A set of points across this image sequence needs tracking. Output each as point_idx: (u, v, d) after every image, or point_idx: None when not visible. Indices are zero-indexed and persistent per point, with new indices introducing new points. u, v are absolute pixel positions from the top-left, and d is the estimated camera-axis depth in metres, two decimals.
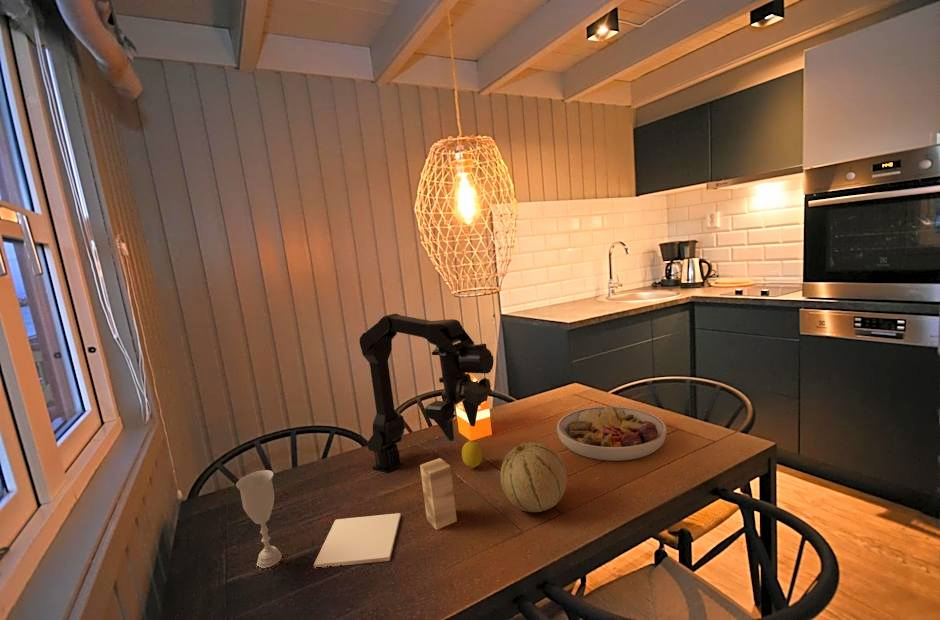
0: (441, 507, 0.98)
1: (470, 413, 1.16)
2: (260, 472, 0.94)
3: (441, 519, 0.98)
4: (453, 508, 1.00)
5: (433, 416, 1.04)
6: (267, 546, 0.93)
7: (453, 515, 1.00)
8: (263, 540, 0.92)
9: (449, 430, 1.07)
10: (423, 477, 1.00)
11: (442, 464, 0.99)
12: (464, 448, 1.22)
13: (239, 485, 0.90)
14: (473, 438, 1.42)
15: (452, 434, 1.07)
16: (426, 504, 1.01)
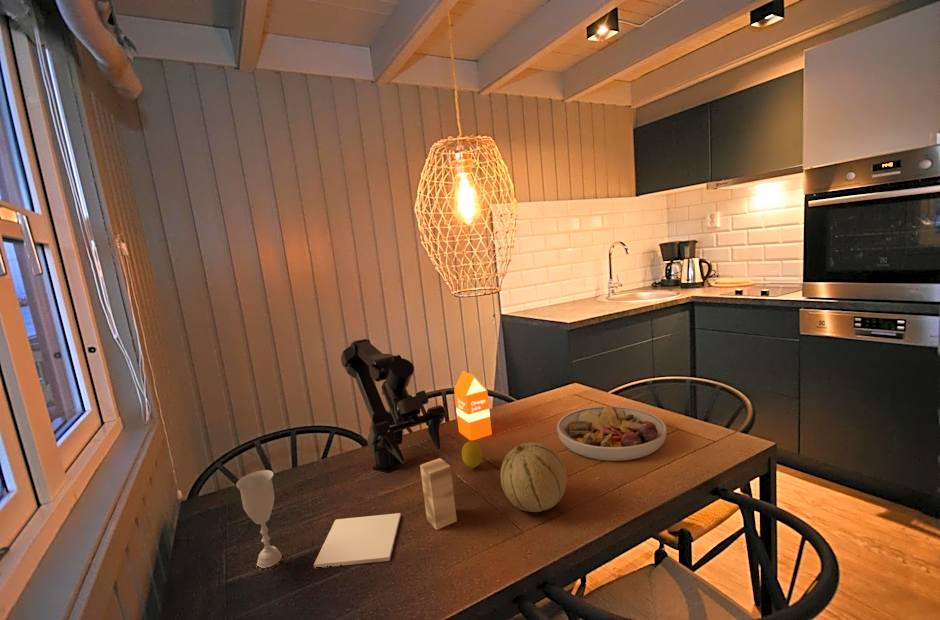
0: (441, 507, 0.98)
1: (433, 438, 1.10)
2: (260, 472, 0.94)
3: (441, 519, 0.98)
4: (453, 508, 1.00)
5: (372, 438, 1.06)
6: (267, 546, 0.93)
7: (453, 515, 1.00)
8: (263, 540, 0.92)
9: (394, 450, 1.04)
10: (423, 477, 1.00)
11: (442, 464, 0.99)
12: (464, 448, 1.22)
13: (239, 485, 0.90)
14: (473, 438, 1.42)
15: (400, 454, 1.04)
16: (426, 504, 1.01)
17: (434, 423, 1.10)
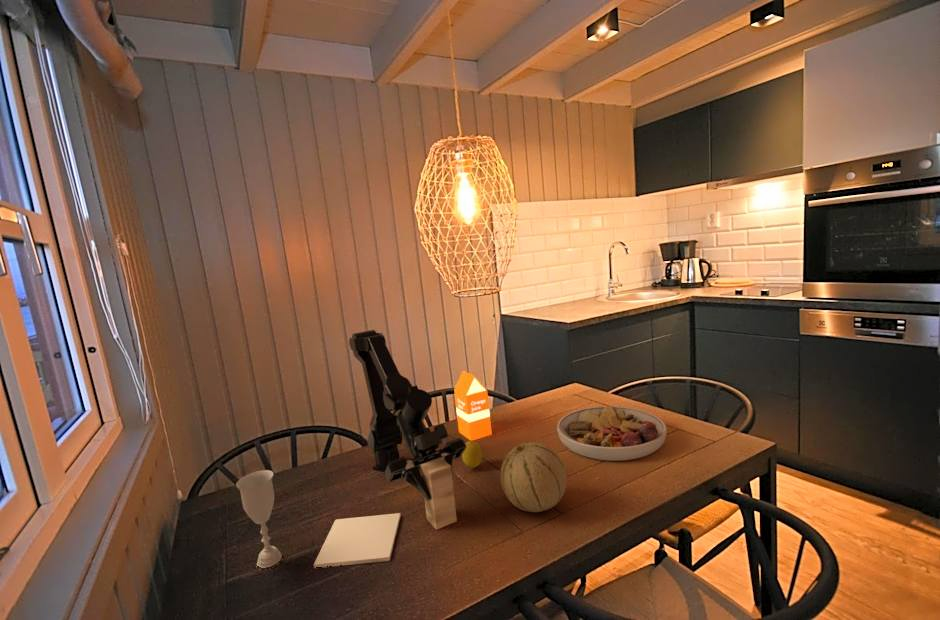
0: (441, 507, 0.98)
1: None
2: (260, 472, 0.94)
3: (441, 519, 0.98)
4: (453, 508, 1.00)
5: (388, 476, 0.99)
6: (267, 546, 0.93)
7: (453, 515, 1.00)
8: (263, 540, 0.92)
9: (420, 486, 0.98)
10: (423, 477, 1.00)
11: (443, 464, 0.99)
12: None
13: (239, 485, 0.90)
14: (473, 438, 1.42)
15: (426, 490, 0.98)
16: (426, 504, 1.01)
17: (446, 460, 1.02)
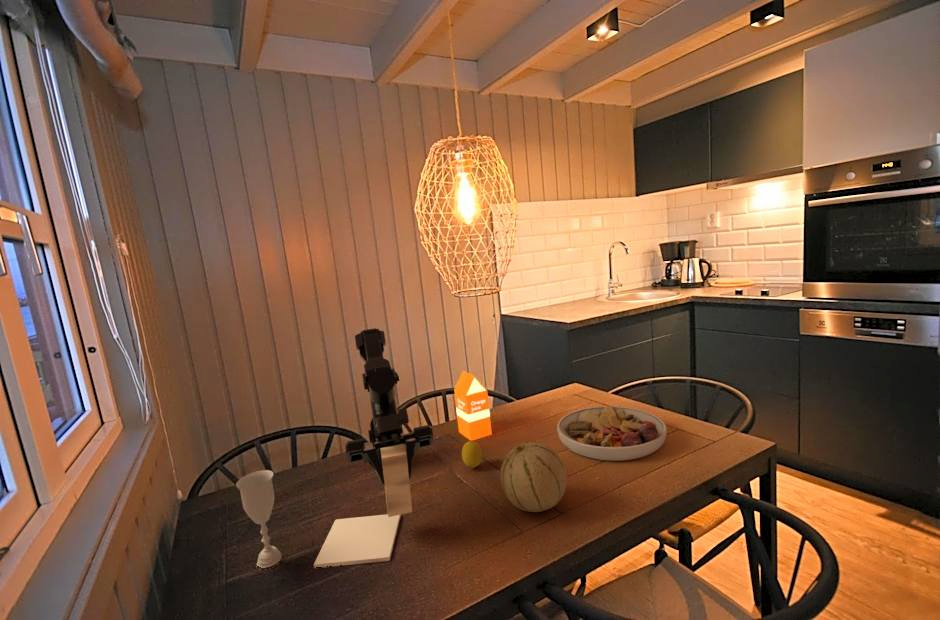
0: (394, 495, 0.94)
1: None
2: (260, 472, 0.94)
3: (394, 507, 0.94)
4: (408, 498, 0.95)
5: (347, 456, 0.97)
6: (267, 546, 0.93)
7: (408, 505, 0.95)
8: (263, 540, 0.92)
9: (376, 470, 0.95)
10: None
11: (400, 451, 0.95)
12: (464, 448, 1.22)
13: (239, 485, 0.90)
14: (473, 438, 1.42)
15: (380, 475, 0.95)
16: None
17: (407, 447, 0.98)
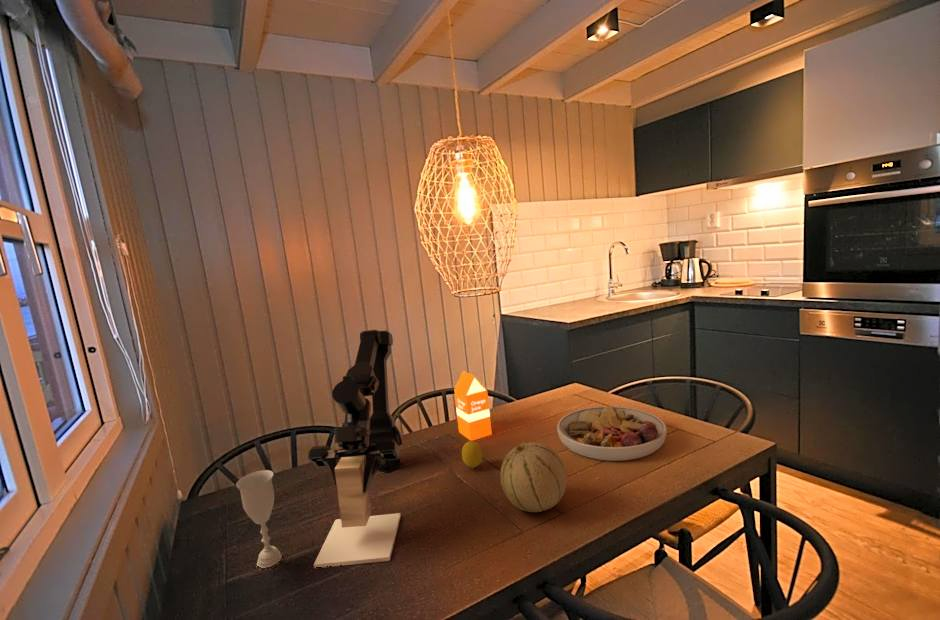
0: (347, 506, 0.93)
1: None
2: (260, 472, 0.94)
3: (347, 518, 0.94)
4: (362, 511, 0.94)
5: None
6: (267, 546, 0.93)
7: (362, 518, 0.94)
8: (263, 540, 0.92)
9: None
10: None
11: (355, 463, 0.94)
12: (464, 448, 1.22)
13: (239, 485, 0.90)
14: (473, 438, 1.42)
15: (336, 485, 0.95)
16: None
17: (367, 460, 0.96)
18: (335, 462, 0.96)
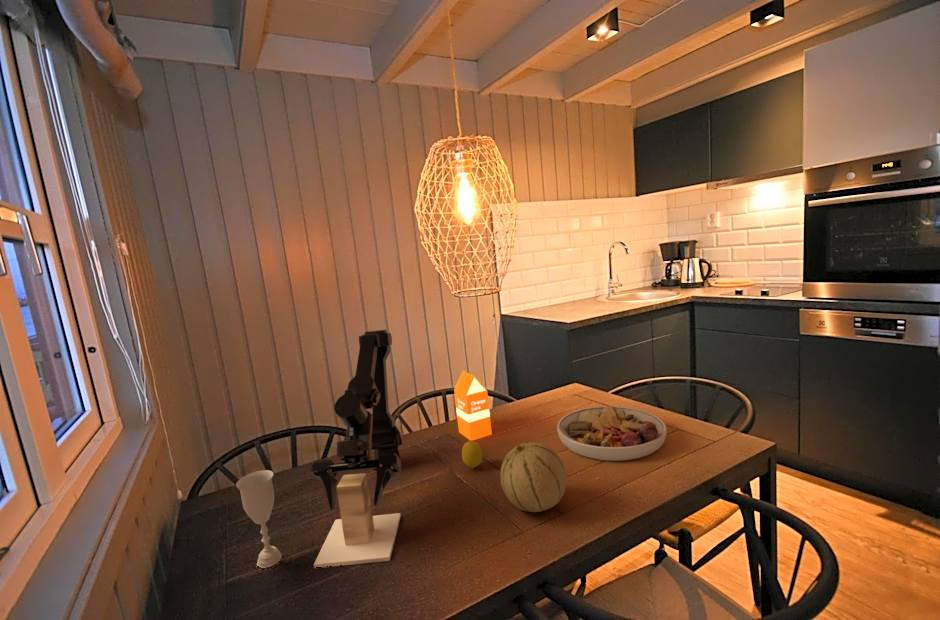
0: (350, 524, 0.94)
1: None
2: (260, 472, 0.94)
3: (350, 536, 0.94)
4: (364, 529, 0.94)
5: None
6: (267, 546, 0.93)
7: (364, 536, 0.94)
8: (263, 540, 0.92)
9: None
10: None
11: (357, 481, 0.94)
12: (464, 448, 1.22)
13: (239, 485, 0.90)
14: (473, 438, 1.42)
15: (329, 499, 0.95)
16: None
17: (377, 472, 0.96)
18: (328, 477, 0.96)
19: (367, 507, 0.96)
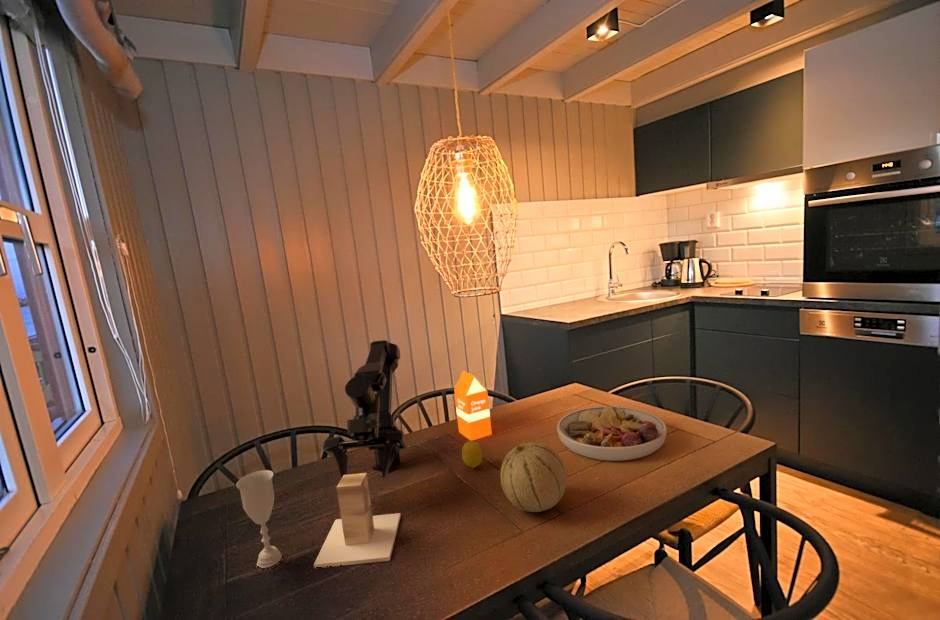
0: (350, 524, 0.94)
1: None
2: (260, 472, 0.94)
3: (350, 536, 0.94)
4: (364, 529, 0.94)
5: None
6: (267, 546, 0.93)
7: (364, 536, 0.94)
8: (263, 540, 0.92)
9: None
10: None
11: (357, 481, 0.94)
12: (464, 448, 1.22)
13: (239, 485, 0.90)
14: (473, 438, 1.42)
15: (341, 473, 1.04)
16: None
17: (385, 448, 1.05)
18: (340, 452, 1.05)
19: (367, 507, 0.96)
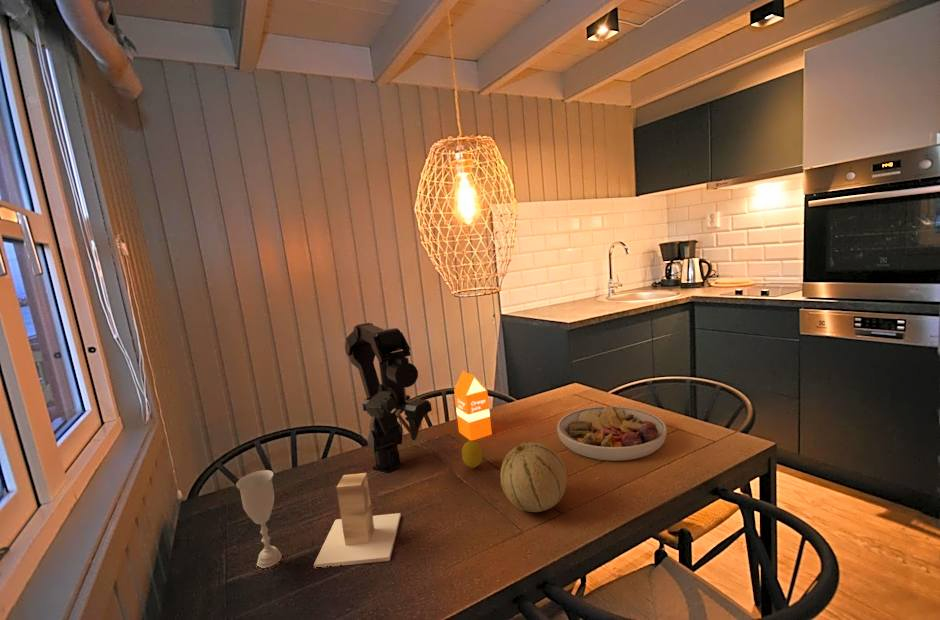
0: (350, 524, 0.94)
1: None
2: (260, 472, 0.94)
3: (350, 536, 0.94)
4: (364, 529, 0.94)
5: None
6: (267, 546, 0.93)
7: (364, 536, 0.94)
8: (263, 540, 0.92)
9: None
10: None
11: (357, 481, 0.94)
12: (464, 448, 1.22)
13: (239, 485, 0.90)
14: (473, 438, 1.42)
15: (383, 429, 1.18)
16: None
17: (407, 420, 1.11)
18: None
19: (367, 507, 0.96)
